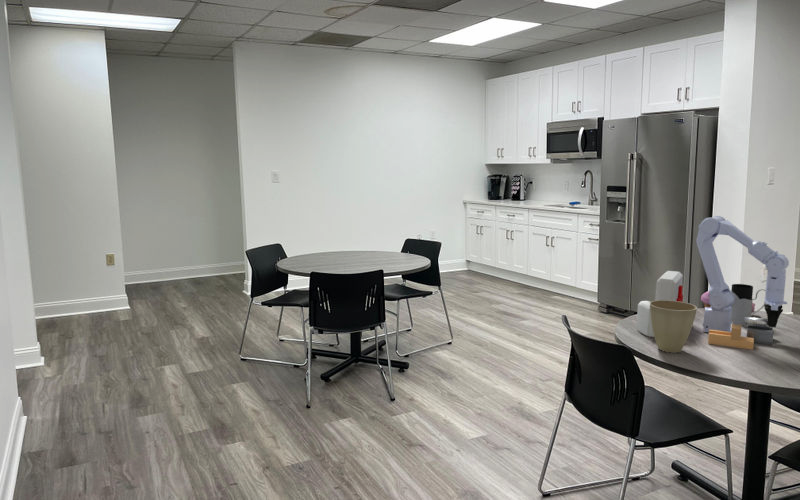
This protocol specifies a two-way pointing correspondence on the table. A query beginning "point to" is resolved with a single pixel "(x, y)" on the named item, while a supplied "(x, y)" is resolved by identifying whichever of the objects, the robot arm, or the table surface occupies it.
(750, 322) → the axle
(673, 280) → the bevelled white case
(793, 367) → the table surface
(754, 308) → the pink lumpy figurine
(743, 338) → the bearing beam
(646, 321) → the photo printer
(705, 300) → the cupcake
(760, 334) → the v-block
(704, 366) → the table surface
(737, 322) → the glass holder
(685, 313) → the plant pot
